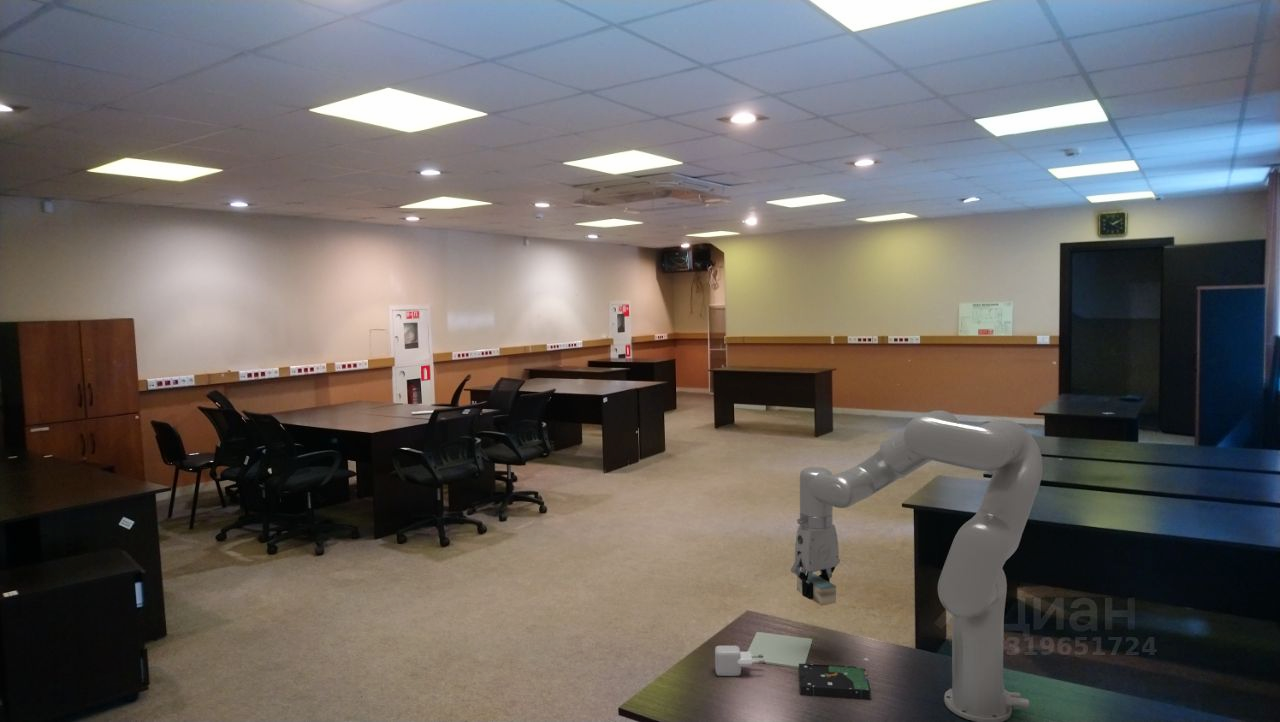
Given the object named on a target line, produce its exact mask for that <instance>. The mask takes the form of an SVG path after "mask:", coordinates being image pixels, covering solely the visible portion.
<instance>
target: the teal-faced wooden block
mask: <svg viewBox="0 0 1280 722" xmlns="http://www.w3.org/2000/svg"><path fill="white" fill-rule="evenodd" d="M805 575H806V576H807V571H806V574H805ZM811 583H813V599H811V601H813V602H815V603H816V604H818V605H819V606H821V607H822V606H828V605H832V604H833V605H834V604H836V603H837V585H835V584H833V583H832V582H828V581H827V580H825V579H823V578H821V577H820V576H819V575H818V574H816V573H815V572H813V573H812V579H811ZM796 591H798V592H799V593H800V594H802V580H800V578H799V577H798V576H797V575H796Z"/></svg>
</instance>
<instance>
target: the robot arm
mask: <svg viewBox="0 0 1280 722" xmlns="http://www.w3.org/2000/svg"><path fill="white" fill-rule="evenodd" d="M931 461H933V462H939V463H943V464H947V465H951V466H954V467H955V466H957V467H961V468H965V469H970V470H973V471H974V470H975V471H978V472H979V471H980V472H981V471H982V472H992V471H993V473H992V475H991V478H990V480H989V482H988V484H987V487H986V489H985V492H984V496H983V498H982V501H981V503H980V506H979V507H978V510H977V511H976V513H975V515H974V516H972V518H970V519H969V520H968V521H966V522H965V523H963V525H962V526H961V527H960V528H959V529H958V531H957V533H956V534H955V536H954V538H953V541H952V543H951V546H950V549H949V551H948V554H947V556H946V559H945V561H944V565H943V567H942V570H941V573H940V576H939V579H938V583H937V595H938V598H939V601H940V603H941V605H942V607H943V608H944V609H945V610H946V611H947V612H948V613H949V614H950V615H952V621H951V622H952V623H951V624H952V626H951V627H952V629H951V630H952V631H951V636H952V638H951V639H952V640H951V642H952V643H951V644H952V645H951V650H952V651H951V657H952V659H951V662H952V663H951V673H952V674H951V675H952V676H951V678H952V680H951V682H952V684H951V687H952V688H949V689H948V690H946V691H945V692H944V697H943V702H944V705H945V706H946V707H947V709H948V710H949V711H951V712H952V713H953V714H955V715H957V716H959V717H961V718H963V719H965V720H968V721H972V722H1005V721H1007V720H1009V719H1010V718H1011V716H1012V710H1013V709H1012V707H1015V708H1019V709H1026V710H1030V700H1029V698H1024V697H1022V696H1021V693H1020V692H1015V691H1013V692H1012V691H1008V690H1007V689H1006V688H1005V685H1004V635H1005V634H1004V619H1005V608H1006V601H1007V600H1006V599H1007V591H1008V589H1007V587H1008V584H1007V577H1006V574H1005V571H1004V569H1003V567H1004V565H1005V564H1006V561H1007V560H1008V559H1010V558H1011V556H1012V555H1014V553H1015V552H1016V551H1017V549H1018V548H1019V545H1020V542H1021V539H1022V535H1023V533H1024V530H1025V527H1026V525H1027V523H1028V522H1027V521H1028V519H1029V517H1030V514H1031V510H1032V507H1033V505H1034V502H1035V498H1036V496H1037V494H1038V491H1039V488H1040V485H1041V482H1042V476H1043V468H1044V467H1043V466H1044V465H1043V458H1042V454H1041V450H1040V447H1039V444H1038V443H1037V441H1036V440H1035V439H1034V437H1033V436H1032V434H1030V432H1029V431H1028V430H1027V429H1026V428H1025V427H1024V426H1022V425H1020V424H1019V423H1017V422H1014V421H1011V420H1009V419H996V420H992V421H989V422H987V423H984V424H982V425H980V426H978V425H972V424H965V423H961V422H960V420H959V419H958V418H957V417H956V416H955V415H954V414H952V413H950V412H949V411H946V410H939V409H938V410H933V411H928V412H926V413H924V414H923V413H922V414H920V415H918V416H915V417H913V419H911V420H910V421H909V422H908V424H907V425H906V426H905V427H904V428H903V429H901V430H900V431H898V432H897V433H895V434H894V435H892V436H890V437H889V438H887V439H886V440H884V441H883V442H881V444H880V447H879V449H878V450H877V451H876V452H875V453H874V454H873V455H871V456H869V457H868V458H867V459H865V460H863V461H862V462H860V463H858V464H857V465H855V466H853V467H851V468H849V469H847V470H844V471H842V472H840V473H835V474H833V472H832V471H831V470H830V469H828V468H825V467H820V466H819V467H818V466H810V467H806V468H803V469H802V470H801V471H800V473H799V518H797V519H796V521H797V524H798V527H797V530H796V531H797V532H796V538H795V544H794V563H793V565H792V567H791V569H790V571H791V572H790V573H793V574H794V575H796V577H797V576H798V577H799V578H800V580H802V593H801V595H802V597H805V598H806V599H808V600H811V599H813V583H811V579H812V573H815V572H819V573H820V574H819V575H818V576H820V577H821V578H823V579H825V580H827V581H828V582H830V581H831V580H830V579H831V578H833V572H834V570H835V569H836V567H837V566H838V565H840V563H841V558H840V557H839V556H840V555H839V554H840V553H839V542H838V541H839V540H838V534H837V529H836V525H835V524H834V523H833V511H834V510H833V507H835V508H838V509H845V508H849V507H852V506H854V505H856V504H857V503H859V502H861V501H863V500H865V499H867V498H869V497H870V496H873V495H874V494H876V493H877V492H879V491H881V490H882V489H885V488H886V487H888V486H889V485H891V484H892V483H894V482H895V481H898V480H899V479H901V478H905V477H906V476H908V475H910V474H911V473H913V472H914V471H916V470H918V469H919V468H921V467H923V466H924V465H926V464H928V463H929V462H931ZM806 572H807V576H806V575H805V574H806ZM830 583H831V582H830ZM811 601H812V600H811Z"/></svg>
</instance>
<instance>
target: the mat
mask: <svg viewBox="0 0 1280 722" xmlns="http://www.w3.org/2000/svg"><path fill="white" fill-rule="evenodd" d="M813 640H814V639H813V638H807V637H806V638H805V637H800V636H792V635H791V636H790V635H784V634H776V633H768V632H763V631H762V632H760V631H756V633H755V634H754V637H753V640H752V641H751V644H750V646H748V647H749V648H748V650H747V651H746V652H751V654H753V655H763V658H752V660H764V661H765V662H764V663H766V664H765V665H768V664H772V665H771V666H775V665H778V666H777V667H782V666H785V667H784V668H788V667H790V668H789V669H796V670H799V663H800V664H807V661H808V657H809V655H808V654H810V651H811V648H812V645H813V642H812V641H813ZM811 644H812V645H811Z"/></svg>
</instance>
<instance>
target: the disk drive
mask: <svg viewBox="0 0 1280 722" xmlns="http://www.w3.org/2000/svg"><path fill="white" fill-rule="evenodd" d="M867 673H868V672H867V668H865V667H864V668H863V667H860V666H859V667H858V666H850V665H848V666H847V665H846V666H845V665H830V664H818V663H817V664H815V663H806V664H800V663H799V669H798V677H799V695H800V696H807V697H823V698H826V697H827V698H836V699H837V698H838V699H852V700H853V699H854V700H866V701H870V700H871V698H872V694H871V693H872V692H871V691H872V690H871V686H870V682H869V681H870V679H869V677H868V674H867Z"/></svg>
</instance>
